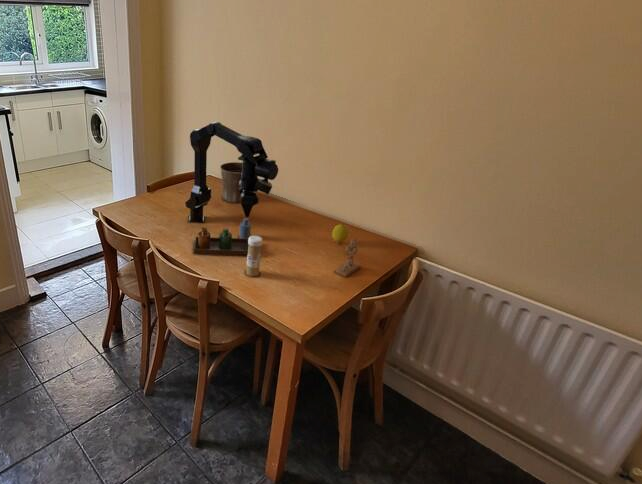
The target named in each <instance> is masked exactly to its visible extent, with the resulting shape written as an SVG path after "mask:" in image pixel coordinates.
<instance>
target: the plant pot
mask: <svg viewBox="0 0 642 484" xmlns="http://www.w3.org/2000/svg"><path fill="white" fill-rule="evenodd" d="M242 164H243V162H239V161H237V162H236V161H235V162H232V161H231V162H225V163H222V164H221V165H220V166H219V169H220V173H221V174H220V175H221V183H222V184H221V185H222V187H221V188H222V199H223V200H224V201H227V202H228V203H232V204H233V203H234V204H239V203H240V204H241V201H240V198H241V194H240V191H239V181H240V180H241V174H242Z"/></svg>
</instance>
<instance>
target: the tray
mask: <svg viewBox="0 0 642 484" xmlns="http://www.w3.org/2000/svg"><path fill="white" fill-rule="evenodd" d="M248 246H249V244H248V239H245V238H239V237H232V243H231V249H229V250H223V249H220V248H219V237H215V236H214V237H212V236H210V248H209V249H200V248H199V247H198V236H195V237H194V246H193V254H194V255H213V256H215V255H216V256H238V257H242V256H243V257H247V256H248Z"/></svg>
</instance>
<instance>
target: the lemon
mask: <svg viewBox="0 0 642 484" xmlns="http://www.w3.org/2000/svg"><path fill="white" fill-rule="evenodd" d="M331 234H332V239H333V240H334V242H336V243H338V244H340V243H343V242H345V241H346V240H347V238H348V236H349V229H348V227H347V226H346V225H344V224H343V223H340V224H337V225H335V226H334V228H333V230H332V233H331Z"/></svg>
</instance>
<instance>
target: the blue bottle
mask: <svg viewBox="0 0 642 484" xmlns="http://www.w3.org/2000/svg"><path fill="white" fill-rule="evenodd" d="M249 220H250V219H249V217H243V220H242V222H240V223H239V232H238V233H239V234H238V235H239V236H238V238H245V239H249V237H250V236H251V234H252V233H251V232H252V223H251V222H249Z"/></svg>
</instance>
